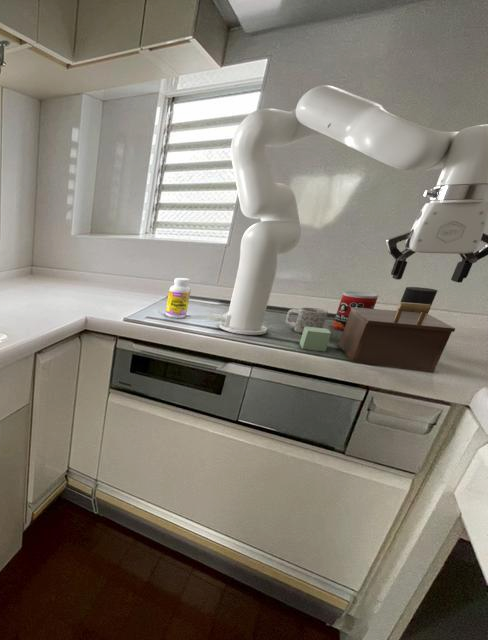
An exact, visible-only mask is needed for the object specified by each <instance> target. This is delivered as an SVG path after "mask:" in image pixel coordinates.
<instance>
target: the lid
mask: <svg viewBox="0 0 488 640" xmlns="http://www.w3.org/2000/svg"><path fill="white" fill-rule="evenodd" d="M431 307H432V305H430V304H419V303H405V302H401V301H399V302H398V303H397V306H396V310H393V309H392V310H391V309H380V308H379V309H378V308H374V309H368V308H356V307H352V308H351V311H353V312H354V313H355V314H356V315H358V316H359V317H360V318H361V319H362V320H364V321H365V322H366V323H367V324H376V325H386V326H397V327H407V328H418V329H428V330H439V331H449V332H452V333H455V331H456V328H455V327H453V326H451V325H450V324H448V323H446V322H444V321H442V320H441V319H438V318H437V317H435V316H433V315H431V314H429V312H430V310H431V309H432V308H431ZM405 311H416V312H405ZM417 312H421V313H417ZM427 312H428V314H427Z"/></svg>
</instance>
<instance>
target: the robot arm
mask: <svg viewBox="0 0 488 640" xmlns="http://www.w3.org/2000/svg"><path fill="white" fill-rule="evenodd" d="M319 134H323V135H324V136H327V137H329V138H331V139H333V140H335V141H337V142H340V143H341V144H343V145H345V146H346V147H349V148H352V149H354V150H356V151H358V152H360V153H362V154H364V155H365V156H368V157H369V158H372V159H374V160H376V161H378V162H380V163H383V164H385V165H387V166H389V167H392V168H394V169H396V170H401V171H411V172H418V173H419V172H430V171H435V170H441V172H440V174H439V176H438V179H437V182H436V185H435V186H434V187H433V188H431V189H426V190H425V191H424V193H423V198H429V202H426V203H425V204H424V205H423V206H422V208H421V209H420V212H419V214H418V215H417V217H416V219H415V220H414V223H413V225H412V227H411V229H410V231H406V232H403V233H401V234H398V235H396V236H393V237H390V238H387V239H386V240H385V244H386V247H387V251H388V253H389V254H390V255H391V257H393V259H394V263H393V266H392V268H391V273H390V275H391V276H392V279H394V280H398V281H399V280H402V278H403V276H404V273H405V270H406V268H407V265H408V260H407V259H408V258H409V257H411V256H413V255H414V254H415V253H418V254H419V253H420V254H448V255H449V254H453V255H454V254H457V255H458V256H459V257H460V259H461V261H458V262H457V264H456V266H455V268H454V270H453V273H452V275H451V278H450V280H451V281H452V282H456V283H462V282H463V281H464V279H467V277H468V276H469V273H470V271H471V268H472V266H473V264H475V263H477V262H478V261H480V260H481V259H483V258H485V257H487V256H488V234H486V233H485V228H486V225H487V221H488V201H485V199H486V198H487V195H488V123H485V124H478V125H472V126H467V127H464V128H462V129H461V130H459V131H444V130H443V131H442V130H438V129H434V128H430V127H427V126H424V125H421V124H418V123H416V122H413V121H410V120H407V119H406V118H405V119H404V118H402V117H401V116H397V115H395V114H393V113H391V112H389V111H387V110H386V109H385V107H384V105H382V104H380V103H378V102H376V101H373V100H370V99H367V98H365V97H362V96H359V95H358V94H357V95H356V94H355V93H352V92H350V91H348V90H347V89H344V88H340V87H337V86H333V85H329V84H322V85H317V86H315V87H313V88H310V89H309V90H307V91H306V92H305V93H304V94H302V96H301V98H300V99H299V100H298V102H297V105H296V108H295V109H291V110H290V111H287V110H282V109H279V108H278V109H277V108H271V107H265V108H259V109H257V110H254V111H252V112H251V113H249V114H248V115H246V117H244V118H243V119H242V121H241V122H240V124H239V125H238V126H237V128H236V130H235V131H234V134H233V136H232V139H231V144H230V159H231V163H232V168H233V172H234V177H235V185H236V188H237V189H236V191H237V195H238V200H239V207H240V211H241V214H242V215H243V216H244V217H246V218H248V219H254V220H255V219H256V220H257V219H258V220H260V221H257V222H256V223H254V224H252V225H251V226H249V227H248V228H247V229H246V230H245V232H244V233H243V235H242V237H241V241H240V246H239V247H240V250H239V251H240V252H239V263H238V266H237V267H238V268H237V271H236V272H237V273H236V275H235V276H236V277H235V281H234V285H233V291H232V295H231V299H230V304H229V307H228V311H226V313H222V314H218V313H211V314H210V318H209V319H210V320H213V321H214V322H220V323H219V328H220V329H221V330H223V331H226V332H228V333H232V334H238V335H245V336H246V335H247V336H262V335H264V334H266V333H267V332H268V328H267V327H266V326H264V325H263V323H264V320H265V315H266V311H267V307H268V305H269V300H270V297H271V294H272V289H273V286H274V282H275V277H276V273H277V268H278V255H282V254H287V253H289V252H291V251H292V250H294V249H295V248H296V247H297V246H298V244H299V242H300V240H301V236H302V227H301V222H300V221H301V220H300V216H299V211H298V204H297V200H296V194H295V193H294V191H293V190H292V188H291V187H290V186H289V185H287V184H285V183H282V182H276V181H275V179H274V174H273V170H272V164H271V160H270V157H269V156H268V153H267V151H266V147H271V148H282V147H285V146H289V145H291V144H295V143H297V142H300V141H303V140H306V139H308V138H311V137H314V136H316V135H319ZM402 241H403V242H404V241H405V244H404V249H403V250H400V249H399V248H398V245H397V244H398V243H400V242H402ZM481 242H482V243H483V244H484V246H483V247H482V248H480V249H478V247H479V245H480V243H481ZM477 249H478V250H477Z"/></svg>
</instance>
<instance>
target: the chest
mask: <svg viewBox="0 0 488 640" xmlns="http://www.w3.org/2000/svg"><path fill="white" fill-rule="evenodd" d="M452 333H453V332H449V331H439V330H428V329H418V328H407V327H397V326H386V325H376V324H367V323H366V322H365V321H364V320H362V319H361V318H360V317H359V316H358V315H356V314H355V313H354V312H353V311H350V314H349V317H348V319H347V322H346V325H345V328H344V331H342V334H341V337H340V340H339V342H338V347H339V348H340V349H341V350H342V351H343V353H344V354H345V355H346V356H347V357H348V359H349V360H350V361H351V363H357V364H365V365H373V366H374V365H375V366H382V367H388V368H395V369H396V368H397V369H404V370H411V371H420V372H421V371H422V372H427V373H434V372H435V369H436V368H437V365H438V363H439V361H440V359H441V358H442V354H443V352H444V350H445V349H446V345H447V343H448V341H449V339H450V337H451V335H452Z"/></svg>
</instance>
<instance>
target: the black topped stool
mask: <svg viewBox="0 0 488 640" xmlns="http://www.w3.org/2000/svg"><path fill="white" fill-rule="evenodd" d="M437 293H438V289H434V288H429V287H418V286H407V287H405V289H404V292H403V294H402V297H401V299H400V302H405V303H419V304H430V305H431V306H433V302H434V300H435V298H436V296H437ZM405 312H416V311H405ZM417 313H421V312H417ZM427 314H429V312H427Z"/></svg>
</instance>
